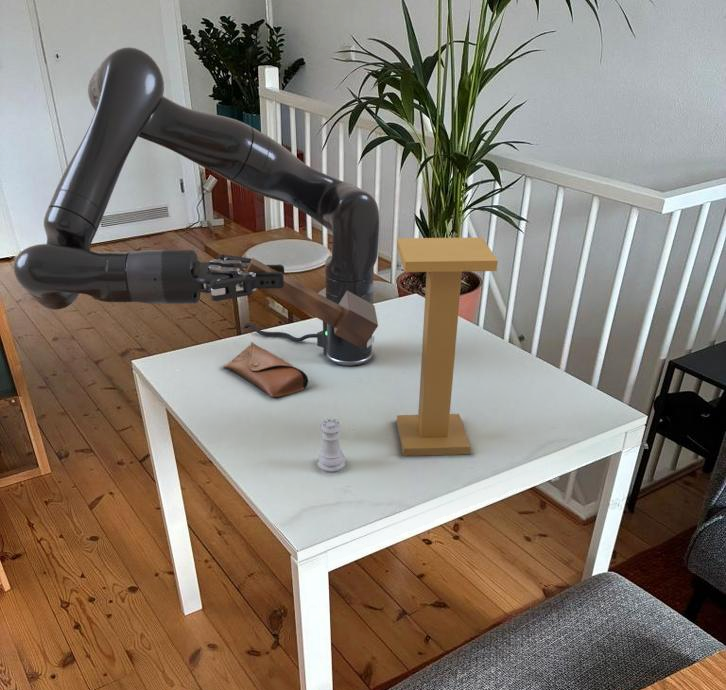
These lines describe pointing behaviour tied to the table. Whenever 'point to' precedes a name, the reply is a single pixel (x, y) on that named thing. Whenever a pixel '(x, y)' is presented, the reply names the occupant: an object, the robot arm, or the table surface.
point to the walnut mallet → (327, 308)
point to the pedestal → (439, 340)
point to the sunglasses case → (268, 372)
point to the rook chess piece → (331, 447)
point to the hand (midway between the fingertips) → (283, 276)
